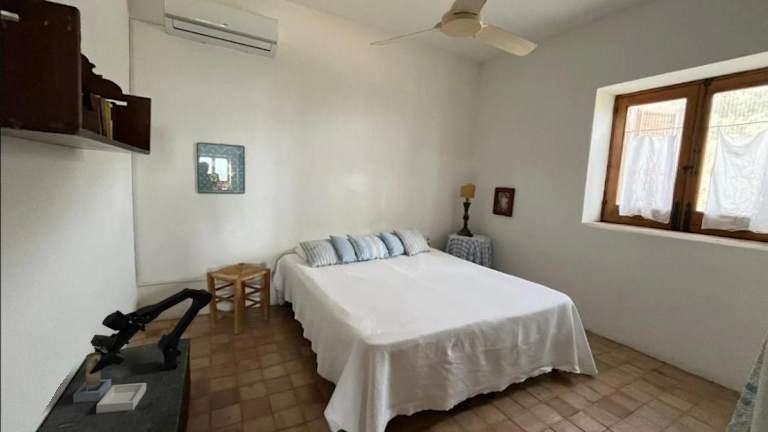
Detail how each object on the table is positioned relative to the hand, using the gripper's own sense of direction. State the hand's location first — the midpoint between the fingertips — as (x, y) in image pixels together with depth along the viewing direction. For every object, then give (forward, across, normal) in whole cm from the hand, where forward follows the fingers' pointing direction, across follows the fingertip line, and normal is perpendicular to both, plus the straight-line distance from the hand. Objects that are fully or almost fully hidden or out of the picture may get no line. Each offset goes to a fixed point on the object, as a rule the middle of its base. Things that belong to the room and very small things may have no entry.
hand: (88, 371), depth 124 cm
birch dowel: (+4, 0, +6) cm, 7 cm away
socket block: (+7, 0, +9) cm, 11 cm away
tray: (+2, +12, +13) cm, 18 cm away
